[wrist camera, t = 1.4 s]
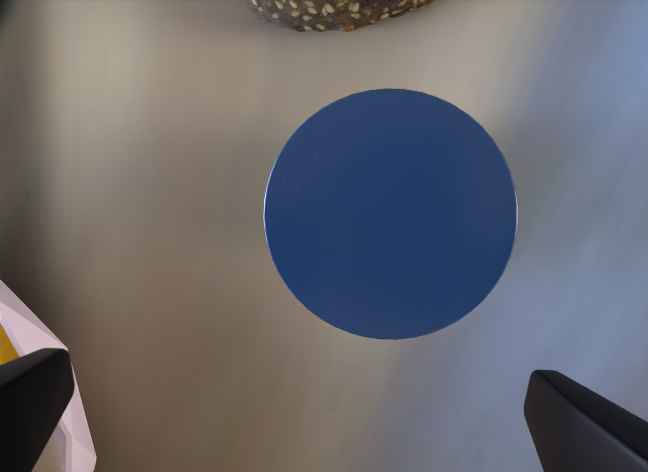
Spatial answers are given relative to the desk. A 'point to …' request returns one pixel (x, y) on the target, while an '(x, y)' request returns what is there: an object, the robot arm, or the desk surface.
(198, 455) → the desk surface
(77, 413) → the fruit bowl
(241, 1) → the bread roll
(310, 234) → the jar lid
